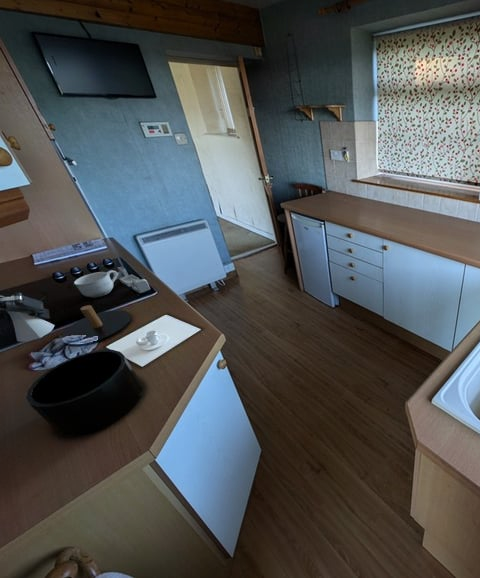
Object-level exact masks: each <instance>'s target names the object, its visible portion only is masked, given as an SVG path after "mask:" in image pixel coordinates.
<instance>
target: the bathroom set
mask: <svg viewBox="0 0 480 578" xmlns="http://www.w3.org/2000/svg"><path fill="white" fill-rule="evenodd" d="M117 270H118V271H116V272H117V274H118V276H117V279H116V280H120V282H121V283H122V284H124V285H125V286H127V287H129V288H131V289H132V290H133V291H135V292H137V293H139V294H141V293H142V294H143V293H145V292H148V291H150V290H151V287H150V285H149V283H148V281H147V280H146V279H145V278H141V279H140V278H139V277H137V276H135V275H134V274H133V273H132V274H129V273H128V271H127V269H125V268H124V267H123V266H118V267H117ZM112 274H113V276H114V273H112Z"/></svg>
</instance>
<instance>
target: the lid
mask: <svg viewBox="0 0 480 578" xmlns="http://www.w3.org/2000/svg"><path fill="white" fill-rule="evenodd" d="M80 311H81V313H82V314H83V316H84V317H83V318H81V319H79V320H77V321H76V322H74V323H73V324H71V325H70V326H68V327H67V328H66V329H65V330H64V331H63V332H62V334H61V336H60V338H61V337H65V336H71V335H86V336H87V337H93V336H98V340H97V341H93V343H97V342H100V341H102V340H106V339H107V338H110V337H112V336H115V335H116V334H118V333H119V332H121V331H123V330H124V329H125V328H126V327H127V326H128V325H129V324H130V323H131V321H132V315H131V313H130V312H128V311H126V310H121V309H115V310H107V311H102V312H98V313H96V311H95V309H94V308H93V306H92V305H90V304H89V305H84V306H82V307H80Z"/></svg>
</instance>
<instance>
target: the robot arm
mask: <svg viewBox="0 0 480 578" xmlns="http://www.w3.org/2000/svg"><path fill="white" fill-rule="evenodd" d="M7 311H13V312H21V313H28V315H30V316H34V317H38V318H40V319H43V320H50V319H51V317H50V310H49V309H47V308H46V307H44V301H41V300H38V299H36V298H32V297H29V296H26V295H23V293H22V292H14V293H13V294H11V296H4V295H2V294H0V321H1V320H2V321H7V322H12V323H13V320H12V319H11V317H10V315H9V314H8V313H7Z"/></svg>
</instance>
